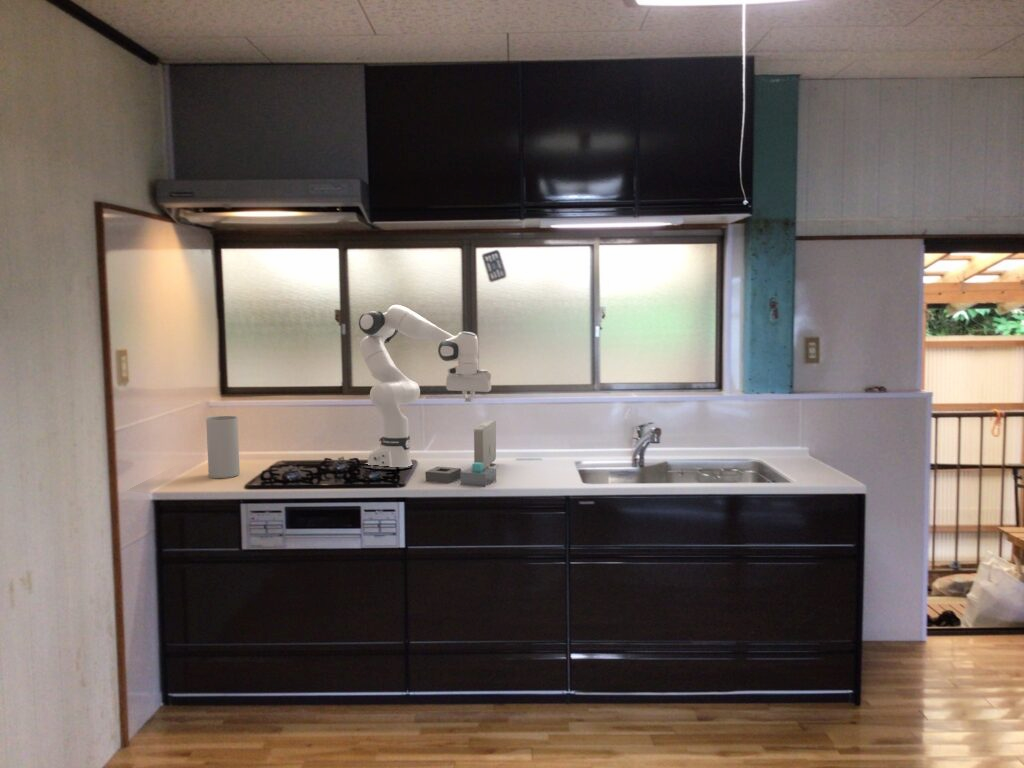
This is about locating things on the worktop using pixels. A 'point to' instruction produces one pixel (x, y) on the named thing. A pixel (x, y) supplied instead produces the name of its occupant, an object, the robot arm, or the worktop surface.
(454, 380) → the robot arm
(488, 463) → the network device
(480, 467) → the plug
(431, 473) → the holster
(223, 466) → the cylinder vase
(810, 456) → the worktop surface
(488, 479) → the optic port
